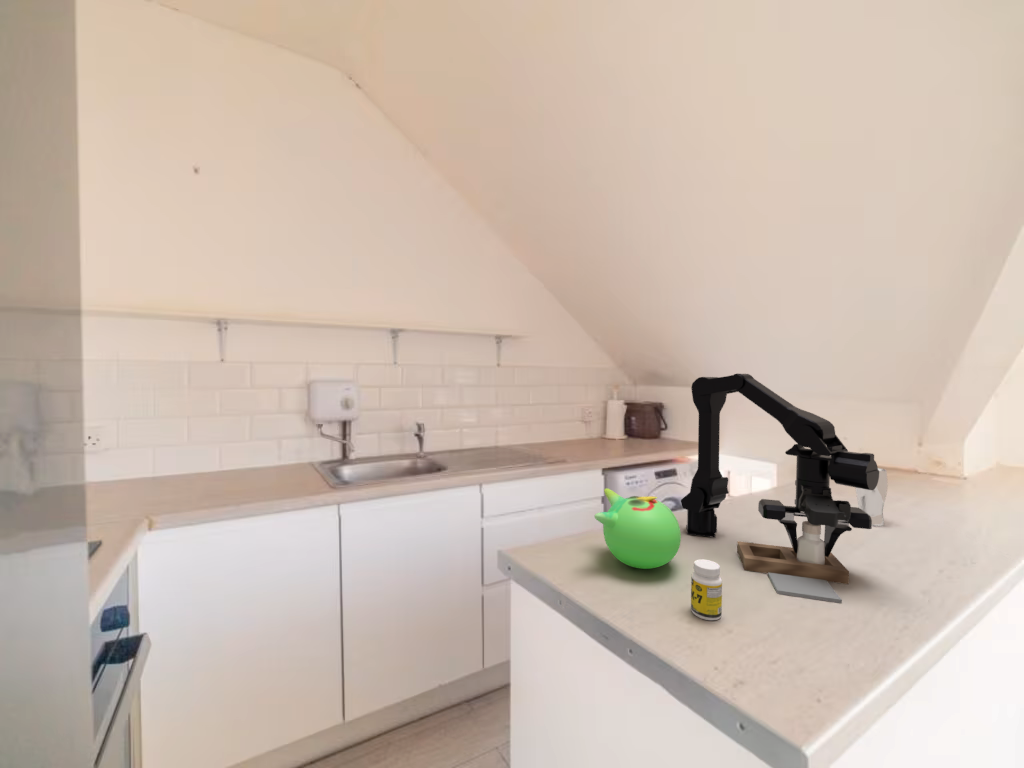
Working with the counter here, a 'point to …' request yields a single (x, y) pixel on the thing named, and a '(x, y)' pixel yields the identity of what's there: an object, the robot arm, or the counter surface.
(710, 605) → the supplement bottle
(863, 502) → the beer glass
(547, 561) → the counter surface
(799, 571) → the wooden compartment tray
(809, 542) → the pepper shaker
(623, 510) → the toy bird
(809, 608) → the counter surface
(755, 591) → the counter surface
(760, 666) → the counter surface
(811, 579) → the rubber pad
